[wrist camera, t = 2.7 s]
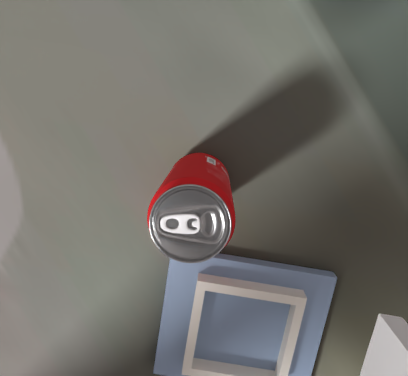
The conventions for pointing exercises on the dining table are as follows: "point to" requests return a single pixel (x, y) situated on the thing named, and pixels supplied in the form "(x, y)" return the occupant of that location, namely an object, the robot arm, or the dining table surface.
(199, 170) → the beverage can
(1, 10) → the dining table surface
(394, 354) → the robot arm
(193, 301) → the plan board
